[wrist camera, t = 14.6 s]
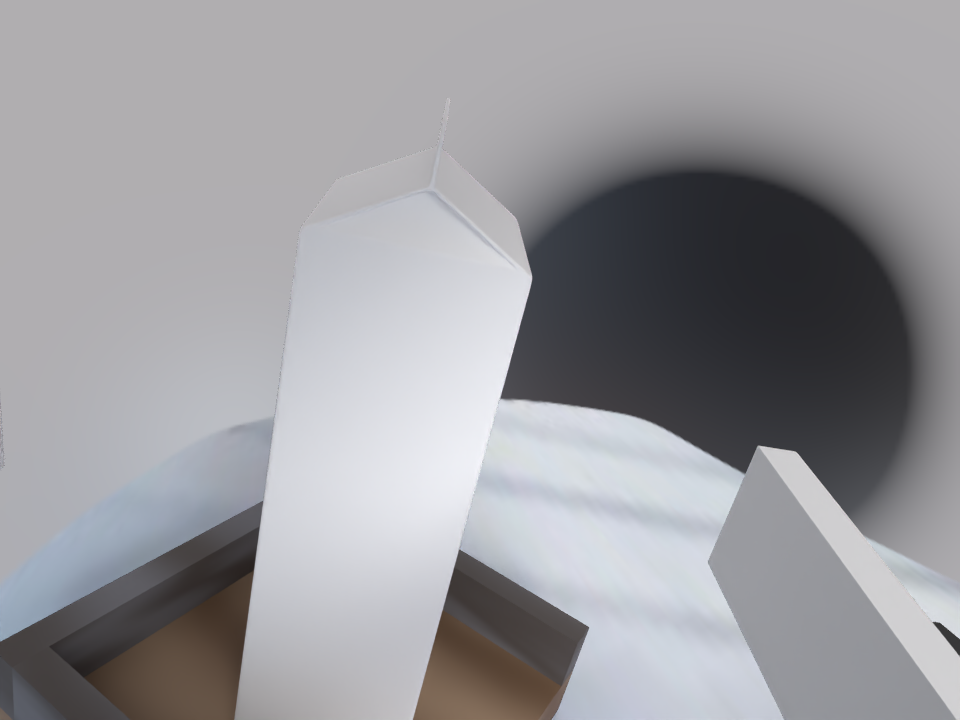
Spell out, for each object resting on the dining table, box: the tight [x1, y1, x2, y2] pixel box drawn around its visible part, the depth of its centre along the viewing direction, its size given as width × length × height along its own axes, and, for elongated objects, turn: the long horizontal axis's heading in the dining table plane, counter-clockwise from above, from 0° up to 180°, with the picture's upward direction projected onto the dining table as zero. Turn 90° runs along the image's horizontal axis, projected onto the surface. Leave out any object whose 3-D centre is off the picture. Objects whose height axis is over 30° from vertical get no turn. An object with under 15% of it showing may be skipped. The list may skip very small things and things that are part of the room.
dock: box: [0, 501, 589, 720], centre depth 29 cm, size 16×15×5 cm
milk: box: [234, 98, 532, 720], centre depth 25 cm, size 6×6×22 cm
